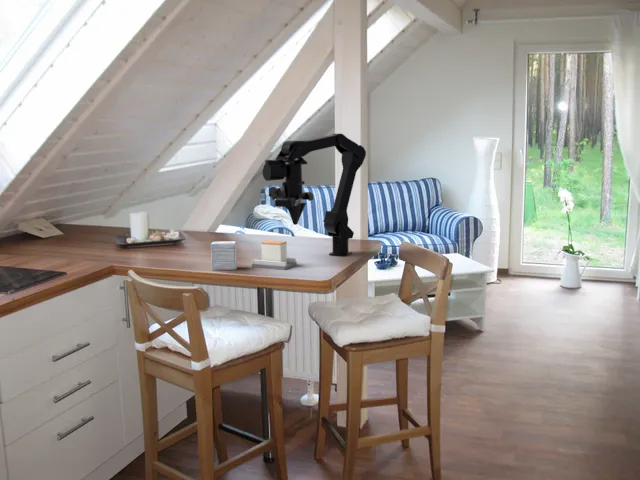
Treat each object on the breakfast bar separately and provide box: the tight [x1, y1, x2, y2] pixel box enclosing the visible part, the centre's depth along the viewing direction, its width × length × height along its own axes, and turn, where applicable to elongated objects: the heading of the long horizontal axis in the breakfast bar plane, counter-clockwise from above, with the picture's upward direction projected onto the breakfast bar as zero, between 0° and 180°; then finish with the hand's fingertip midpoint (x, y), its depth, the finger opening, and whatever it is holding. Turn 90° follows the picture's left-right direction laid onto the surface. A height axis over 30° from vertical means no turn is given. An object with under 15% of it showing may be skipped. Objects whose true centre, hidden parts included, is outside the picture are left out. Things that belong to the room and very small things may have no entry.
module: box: [260, 239, 288, 262], centre depth 224 cm, size 4×7×7 cm, turn 66°
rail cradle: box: [251, 257, 298, 271], centre depth 224 cm, size 9×12×2 cm
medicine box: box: [210, 240, 238, 271], centre depth 220 cm, size 8×4×9 cm, turn 92°
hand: (295, 224), depth 231 cm, fingers closed
